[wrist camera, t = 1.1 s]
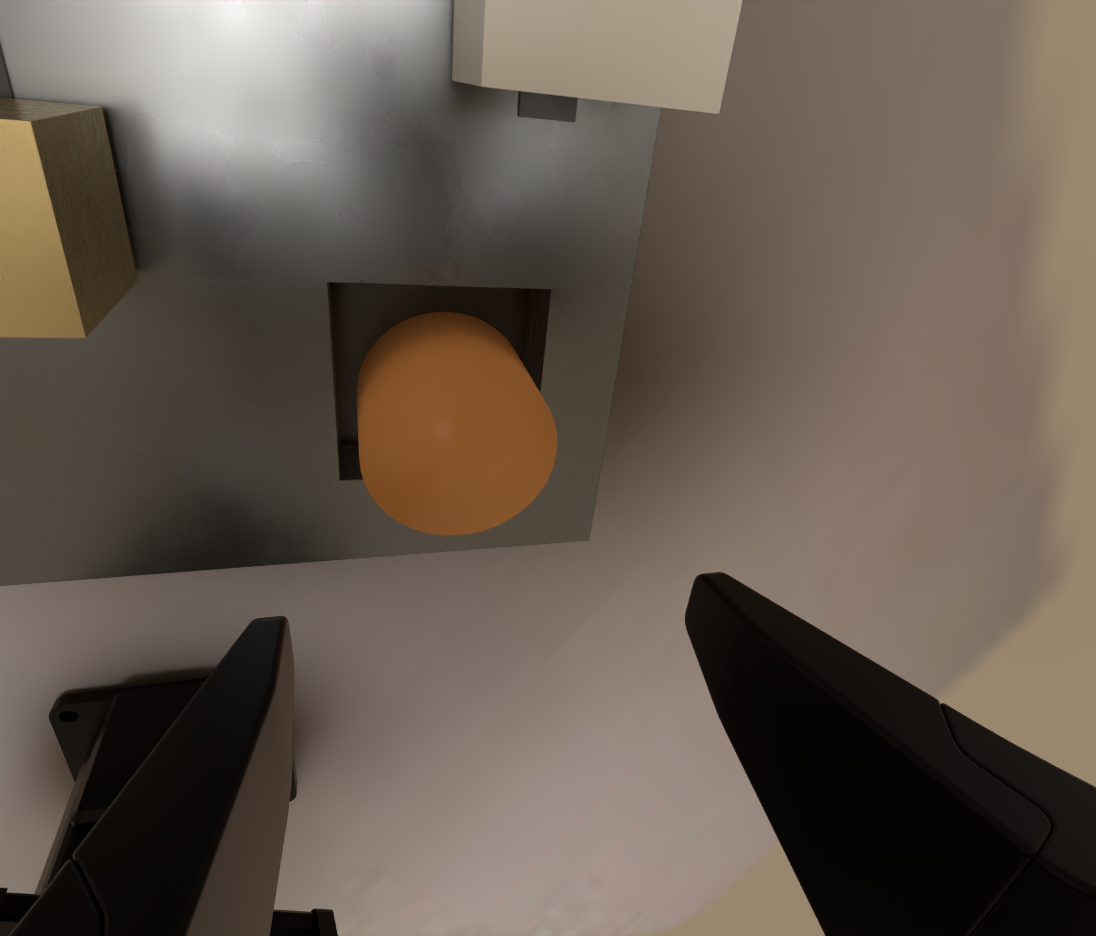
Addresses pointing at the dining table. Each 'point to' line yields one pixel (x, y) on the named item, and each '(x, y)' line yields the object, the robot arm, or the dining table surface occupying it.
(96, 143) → the tan block
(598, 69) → the beige block
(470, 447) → the orange push button
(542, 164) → the plate
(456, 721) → the dining table surface
